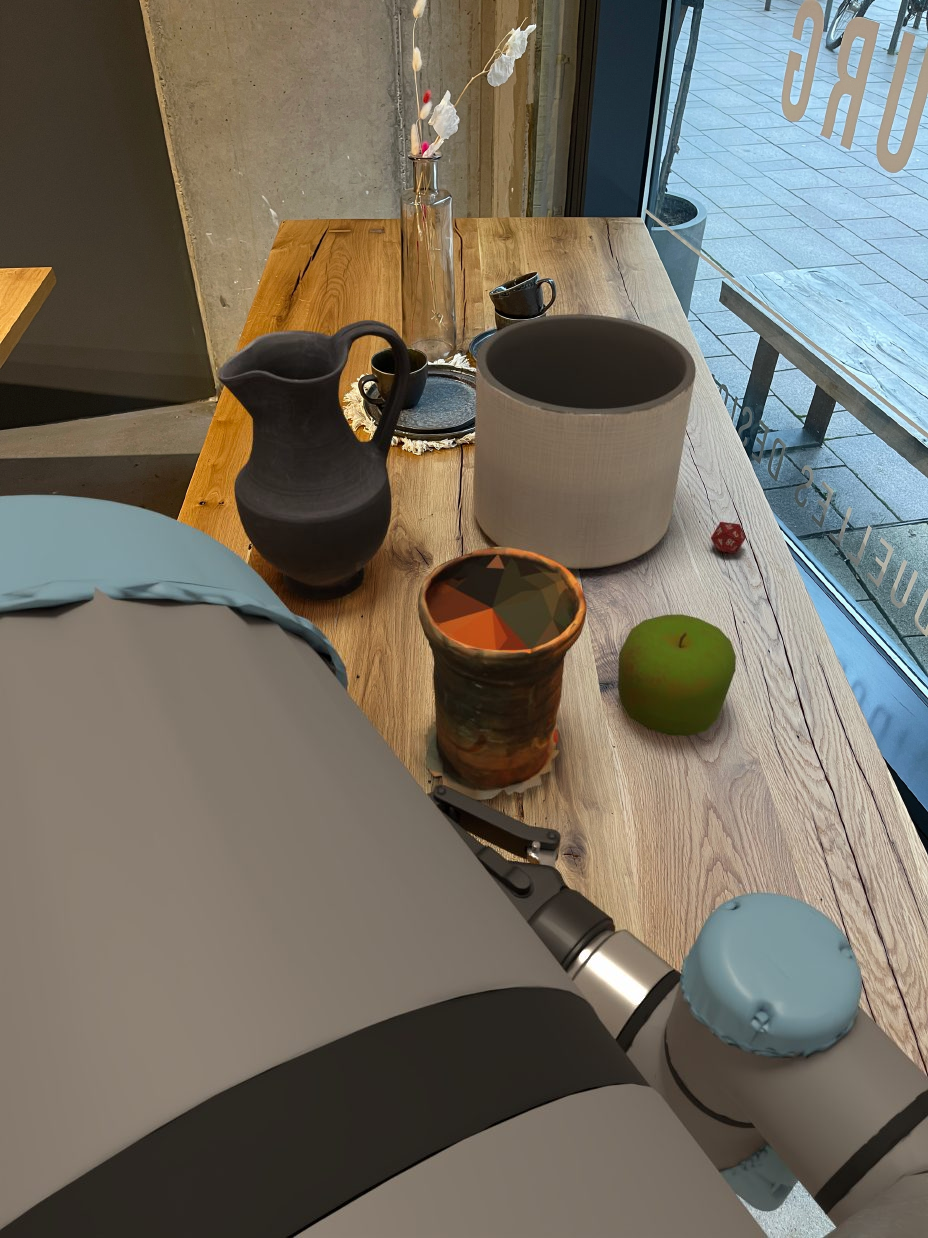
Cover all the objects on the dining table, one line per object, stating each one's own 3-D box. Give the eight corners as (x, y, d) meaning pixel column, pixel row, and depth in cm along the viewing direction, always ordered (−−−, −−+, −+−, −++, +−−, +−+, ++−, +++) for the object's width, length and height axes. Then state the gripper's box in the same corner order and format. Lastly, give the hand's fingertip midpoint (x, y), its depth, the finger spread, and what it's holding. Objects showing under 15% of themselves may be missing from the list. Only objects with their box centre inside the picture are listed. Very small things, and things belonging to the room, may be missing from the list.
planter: (624, 453, 131) (644, 302, 116) (702, 559, 112) (738, 397, 98) (452, 478, 126) (450, 324, 111) (505, 593, 108) (511, 428, 93)
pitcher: (234, 556, 113) (185, 323, 93) (388, 511, 120) (374, 286, 100) (280, 641, 101) (235, 397, 81) (447, 586, 109) (444, 349, 89)
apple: (710, 671, 98) (730, 594, 91) (731, 749, 90) (755, 671, 83) (607, 670, 98) (618, 593, 91) (618, 748, 90) (632, 670, 83)
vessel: (581, 802, 85) (603, 647, 72) (429, 814, 84) (422, 659, 71) (556, 691, 96) (571, 538, 83) (420, 700, 95) (413, 546, 82)
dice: (703, 541, 115) (709, 515, 112) (738, 540, 115) (745, 514, 113) (711, 560, 112) (717, 534, 110) (747, 559, 113) (754, 533, 110)
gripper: (512, 1076, 56) (278, 847, 68) (638, 935, 63) (405, 750, 75) (517, 1021, 51) (263, 785, 63) (653, 875, 58) (400, 688, 70)
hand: (340, 767), depth 69 cm, fingers closed
